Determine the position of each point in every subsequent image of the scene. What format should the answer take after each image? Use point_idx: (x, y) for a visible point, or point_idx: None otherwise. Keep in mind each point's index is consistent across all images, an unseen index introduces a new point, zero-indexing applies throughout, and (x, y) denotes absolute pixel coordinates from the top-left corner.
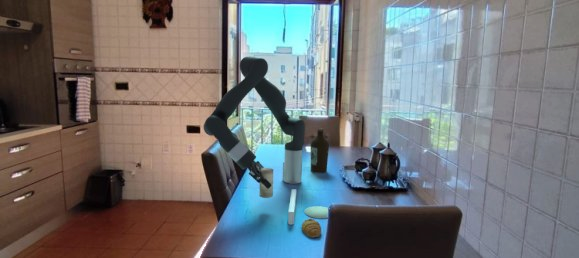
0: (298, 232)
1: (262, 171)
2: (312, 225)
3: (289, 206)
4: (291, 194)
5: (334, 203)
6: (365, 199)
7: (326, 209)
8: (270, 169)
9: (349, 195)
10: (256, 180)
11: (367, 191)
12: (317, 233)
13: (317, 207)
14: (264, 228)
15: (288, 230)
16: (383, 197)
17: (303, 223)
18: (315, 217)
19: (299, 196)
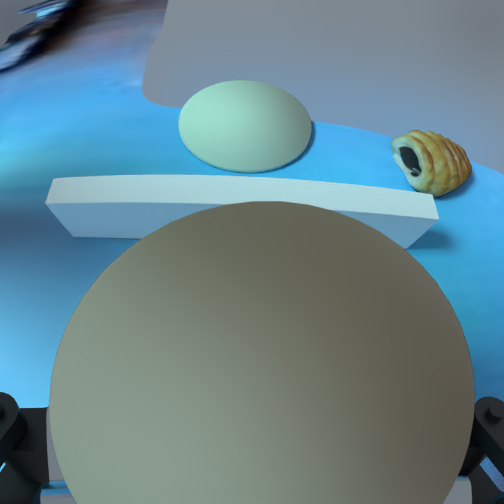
0: (451, 211)
1: (451, 486)
2: (454, 152)
3: (372, 212)
4: (139, 199)
5: (140, 79)
6: (120, 28)
7: (216, 96)
8: (235, 291)
9: (76, 55)
10: (484, 484)
11: (62, 33)
12: (465, 152)
13: (193, 121)
14: None
15: (451, 247)
16: (115, 9)
17: (437, 179)
18: (309, 137)
19: (34, 200)
